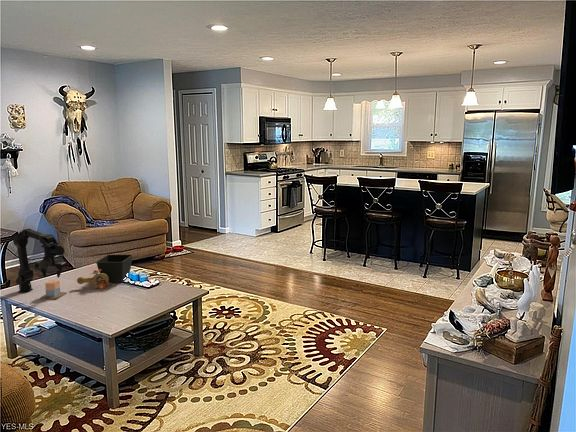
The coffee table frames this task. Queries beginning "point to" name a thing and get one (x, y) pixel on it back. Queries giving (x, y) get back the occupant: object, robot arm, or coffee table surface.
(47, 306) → the coffee table surface
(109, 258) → the flower pot
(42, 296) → the walnut base plate
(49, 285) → the terracotta block
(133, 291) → the coffee table surface
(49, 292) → the slate-blue block
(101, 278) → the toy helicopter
